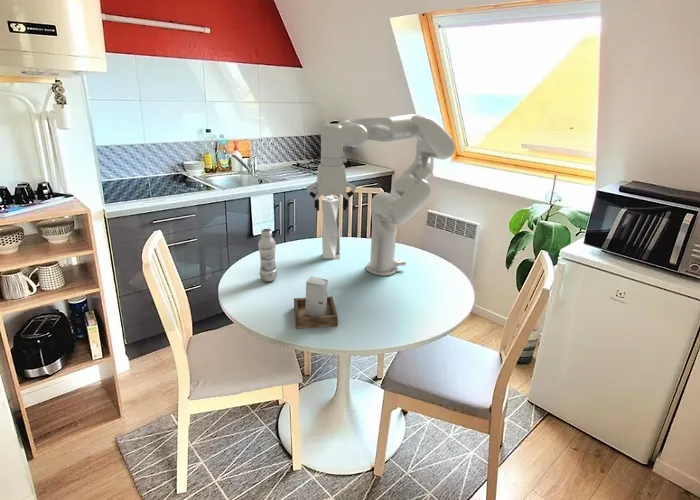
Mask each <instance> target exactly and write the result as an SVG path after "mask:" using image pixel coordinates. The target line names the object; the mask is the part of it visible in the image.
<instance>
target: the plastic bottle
mask: <svg viewBox="0 0 700 500" xmlns="http://www.w3.org/2000/svg"><path fill="white" fill-rule="evenodd" d="M260 232H261V234H260V236H261V237H260V239H259V241H258V243H257V247H258V251H259V258H260V268H259V277H260V280H261V281H262V282H267V283H269V282H273V281H275V280H276V279H277V276H278V270H277V267H276V245H277V243H276V241H275V239H274V237H272V236H273V233H272V229H271V228H263V229H261V231H260Z"/></svg>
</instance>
